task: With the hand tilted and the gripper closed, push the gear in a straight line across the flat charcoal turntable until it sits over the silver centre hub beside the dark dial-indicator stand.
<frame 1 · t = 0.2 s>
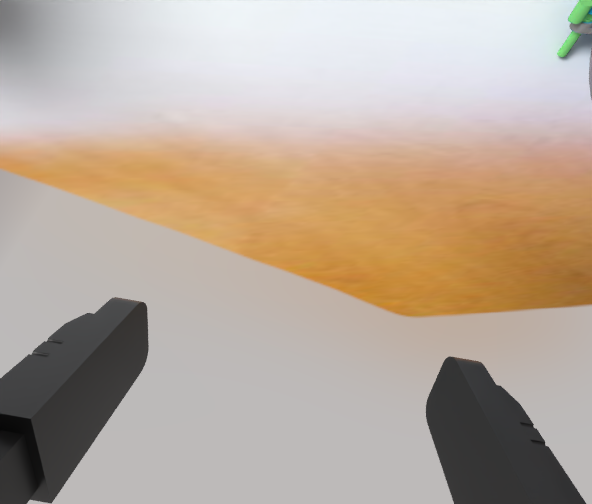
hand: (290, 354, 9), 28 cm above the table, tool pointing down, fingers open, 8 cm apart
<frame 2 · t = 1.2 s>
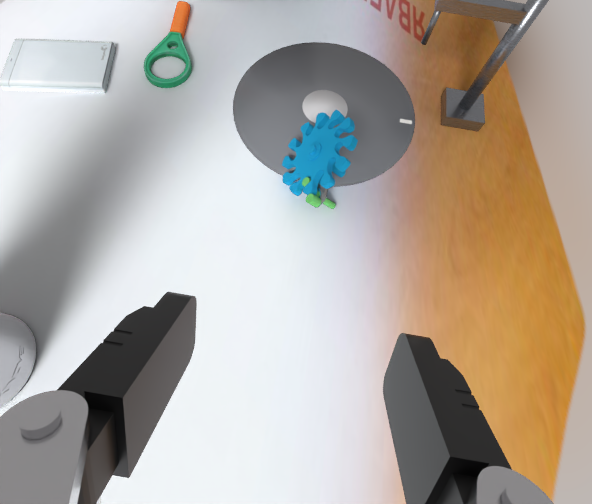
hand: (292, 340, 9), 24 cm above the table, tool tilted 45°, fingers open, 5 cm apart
magnifying glass: (176, 50, 47), on the table
turntable: (324, 113, 45), on the table
gear: (312, 178, 40), on the table, touching turntable
indicator stand: (459, 113, 45), on the table
hard drive: (65, 72, 44), on the table
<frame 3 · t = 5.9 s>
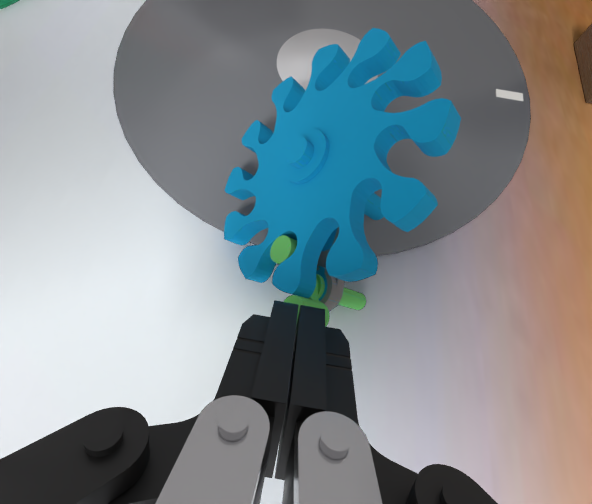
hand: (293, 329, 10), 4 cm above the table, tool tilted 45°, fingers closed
turntable: (325, 79, 20), on the table
gear: (304, 222, 16), on the table, touching gripper, turntable
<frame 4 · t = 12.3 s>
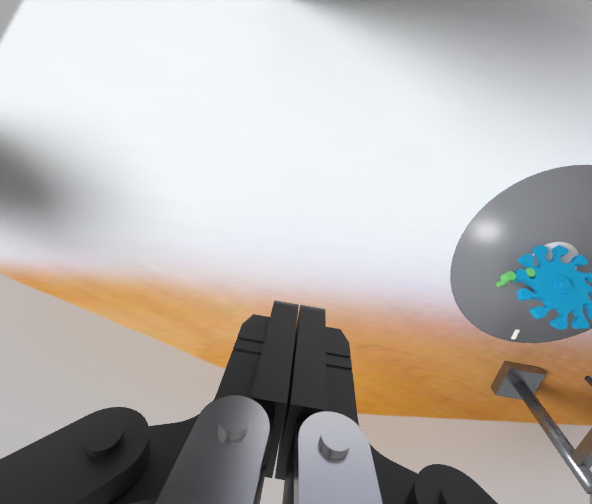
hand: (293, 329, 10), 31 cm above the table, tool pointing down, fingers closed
turntable: (547, 261, 42), on the table
gear: (534, 269, 42), resting on turntable
indicator stand: (514, 377, 48), on the table
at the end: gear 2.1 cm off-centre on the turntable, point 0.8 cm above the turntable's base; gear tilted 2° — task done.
